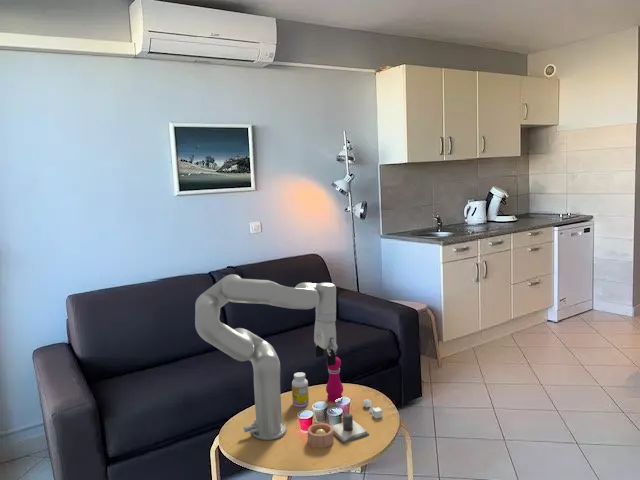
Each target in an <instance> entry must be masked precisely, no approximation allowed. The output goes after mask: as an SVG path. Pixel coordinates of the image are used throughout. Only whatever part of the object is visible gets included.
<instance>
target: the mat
mask: <svg viewBox="0 0 640 480" xmlns="http://www.w3.org/2000/svg"><path fill="white" fill-rule="evenodd" d="M369 435H370V433H369V432H368V431H367V434H364V435H361V436H358V437H355V438H352V439H349V440H346V441H343V440H341V439H340V438H339V437H338V436H337V435H336V434H335V433H333V437H334V436H335V438H336V439H337V440H339V441H340V442H341V443H342V444H346V443H348V442H352V441H354V440H358V439H360V438H363V437H364V438H365V437H366V436H369Z"/></svg>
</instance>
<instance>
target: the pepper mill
mask: <svg viewBox="0 0 640 480" xmlns="http://www.w3.org/2000/svg"><path fill="white" fill-rule="evenodd" d="M326 366H327V373H328V375H329V376H328V381H327V383H326V386H325V392H326V394H327V397H326V398H327V401H328V402H329V401H331V402H330V403H334V402H335V400H336V399H338V398H341V397H342V398H343V394H342V393H343V392H344V386H343V383H342V382H341V380H340V379H341V378H340V372H341V368H340V367H341V366H342V360H341V359H340V358H339V357H338V356H336V364H335V365H331V366H328V365H327V364H326ZM335 403H336V402H335Z"/></svg>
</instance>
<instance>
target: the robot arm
mask: <svg viewBox="0 0 640 480" xmlns="http://www.w3.org/2000/svg"><path fill="white" fill-rule="evenodd" d="M229 302H231V303H237V304H238V303H239V304H240V303H241V304H260V305H261V304H262V305H269V306H274V307H278V308H279V307H280V308H286V309H290V310H291V309H293V310H311V309H314V308H315V322H314V333H313V342H314V344H315V357H316V358H320V357H324V356H325V350H326V352H327V355H326V358H327V359H326V366H327V365H328V366H331V365H335V364H336V357H337V356H336V355H337V353H338V348H339V347H338V344H337V329H336V328H337V327H336V322H337V287H336V285H335V284H334V283H332V282H320V283H315V282H314V283H312V282H300V283H298V284H296V286H295V287H292V286H291V287H290V286H286V285H281V284H279V283H277V282H275V281H272V280H269V279H255V278H253V279H252V278H242V277H241V276H239V275H238V274H232V273H231V274H228V275H226V276H224V277H223V278H221V279H220V280H219V281H218V282H217V281H216V283H214V284H213V285H212V286H210V287H209V288H207V290H205V291H204V292H203V293H201V294H200V295H199V296H198V297H197V298H196V300H195V304H194V305H195V308H194V309H195V310H194V311H195V314H194V315H195V316H194V320H195V321H194V324H195V330H196V332H197V334H198V335H199V337H200V338H201V339H202V340H204V341H205V342H206V343H208V344H210V345H212V346H213V347H215V348H216V349H217V350H219V351H221V352H223V353H225V354H226V355H227V356H229V357H231V358H232V359H234V360H235V361H238V362H245V361H249V362H250V363H251V364H252V369H253V370H252V371H253V390H254V391H253V393H254V407H255V408H254V409H255V419H254V420H253V423H251V425H246V426H243V432H244V433H249V434H252V435H253V437H254V438H256V439H258V440H262V441H271V440H272V441H273V440H276V439H280V438H282V437H283V436H284V435H285V434H286V433H287V425H286V424H285V423H284V422H283V418H282V417H283V415H282V397H281V362H280V359H279V356H278V354H277V352H276V350H275V348H274V346H272V345H271V344H270V343H269V342H268V341H266V340H264V339H263V338H261V337H260V336H259V335H257V334H254V333H253V332H251V331H250V330H248V329H245V328H242V327H237V328H232V327H230V326H229V325H227V324H225V323H223V322H221V320H220V316H221V308H222V307H224V306H225V305H226V304H228V303H229Z"/></svg>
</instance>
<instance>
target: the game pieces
mask: <svg viewBox="0 0 640 480" xmlns="http://www.w3.org/2000/svg"><path fill="white" fill-rule="evenodd" d="M372 403H373V402H372V400H371V399H367V398H366V399H363V400H362V404H363V406H364V407H365V408H366V409H367V408H369V409H368V412H369V413H370V414H371V417H372V416H373V418H374V417H375V418H374V419H379V418H380V419H381V418H384V417H383V409H382V408H381V407H379V406H377V407H374V406H373V404H372Z"/></svg>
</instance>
